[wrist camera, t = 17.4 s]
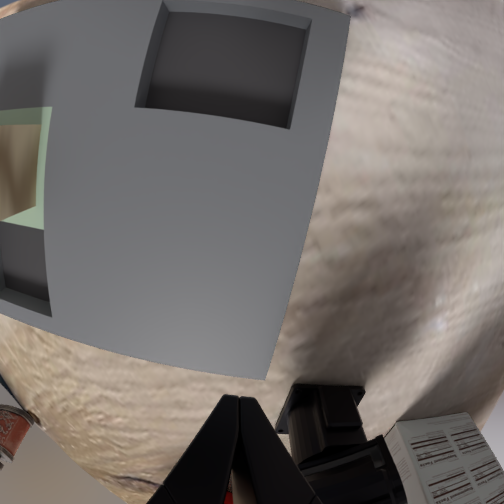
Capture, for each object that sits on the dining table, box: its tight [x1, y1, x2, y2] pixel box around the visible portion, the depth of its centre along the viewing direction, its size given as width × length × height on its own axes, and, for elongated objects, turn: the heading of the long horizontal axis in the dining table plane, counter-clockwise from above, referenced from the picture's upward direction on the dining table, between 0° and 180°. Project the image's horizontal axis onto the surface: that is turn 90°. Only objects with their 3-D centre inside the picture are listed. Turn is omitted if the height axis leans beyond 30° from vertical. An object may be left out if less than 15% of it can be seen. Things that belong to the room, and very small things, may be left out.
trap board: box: [0, 0, 351, 380], centre depth 15 cm, size 23×24×2 cm
